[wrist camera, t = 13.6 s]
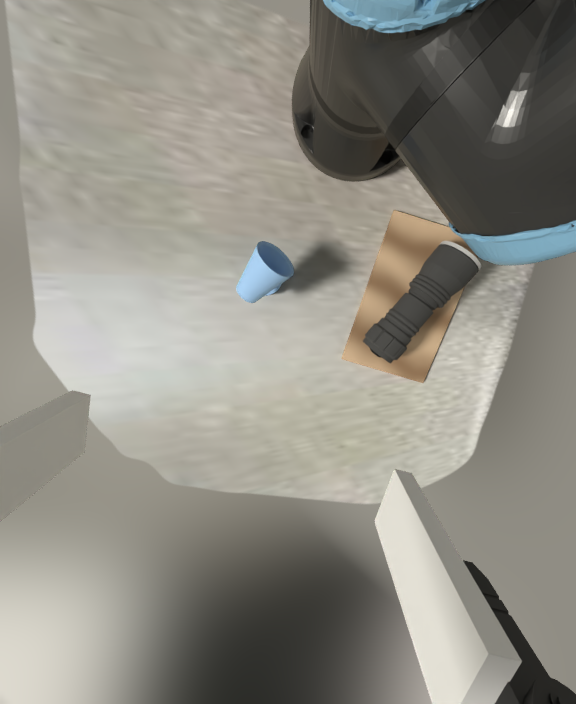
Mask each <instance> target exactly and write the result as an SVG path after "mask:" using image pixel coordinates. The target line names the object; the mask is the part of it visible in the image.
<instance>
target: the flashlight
mask: <svg viewBox="0 0 576 704" xmlns="http://www.w3.org/2000/svg"><path fill="white" fill-rule="evenodd" d="M480 269H481V264H480V262H479V260H478V259H477V258H476V257H475V256H474V255H473V254H472V253H470V252H469V251H468V250H467V249H465V248H463V247H462V246H460V245H458V244H456V243H453V242H450V241H442V242H441V243H440V244H439V246H438V247H437V248H436V249H435V250H434V251H433V253H432V254H431V255H430V256H429V257H428V259H427V260H426V261H425V262H424V264H423V266H422V268H421V270H420V272H419V274H417V275H416V276H415V278H413V280H412V281H411V282H410V283H409V286H410V289H409V290H408V293H405V294H404V295H403V296H402V297H401V298H400V299H399V301H398V302H397V303H396V304H395V305H394V306H393V308H391V309H389V312H388V313H386V316H385V317H384V318H383V317H382V318H381V320H380V321H379V322H378V323H374V324H373V326H372V327H371V328H370V329H369V330H368V332H367V333H366V334H365V338H364V340H363V342H364V343H365V344H366V345H367V346H368V347H369V348H370V350H371V352H372V353H373V354H375V355H376V356H377V357H381V358H383V359H384V360H386V361H387V362H389V363H390V364H391V363H392V362H393V360H398V359H399V358H400V356H401V355H402V354H403V353H404V352H405V351H406V350H407V345H408V344H409V343H410V341H411V338H412V337H413V336H415V335H416V333H417V332H419V329H420V328H421V327H422V326H423V324H424V323H425V322H426V321H427V320H428V319H429V318H430V317H431V315H432V314H433V310H435V309H436V308H437V307H438V308H442V307H444V304H446V303H447V301H449V300H450V298H451V296H453V295H454V294H456V293H457V292H458V291H460V290H461V289H463V288H464V286H465V285H466V284H467V283H468V282H469V281H470V280H471V279H472V277H473V276H474V275H475V274H476V273H477V272H478V271H479V270H480Z"/></svg>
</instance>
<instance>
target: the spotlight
mask: <svg viewBox="0 0 576 704" xmlns="http://www.w3.org/2000/svg"><path fill="white" fill-rule="evenodd" d="M293 274H294V268H293V265H292V263H291V262H290V260H289V259H288V257H287V256H286V255H285V254H284V253H283V252H282V251H281V250H280V249H279V248H277V247H276V246H274V245H273V244H271V243H268V242H265V241H261V242H259V243H258V244H257V246H256V248H255V250H254V252H253V254H252V256H251V258H250V260H249V262H248V264H247V266H246V268H245V270H244V272H243V274H242V276H241V278H240V280H239V282H238V284H237V287H236V289H237V292H238V294H239V295H240V297H241V298H242V299H244V300H245V301H247V302H250V303H255V302H256V301H258V300H259V299H260V298H262V297H263V296H267V295H271V294H273V293H275V292H276V291H278V289H279V288H280V286H281V284H282V283H283V282H285V281H286V280H287V279H289V278H290V277H292V276H293Z"/></svg>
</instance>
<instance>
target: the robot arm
mask: <svg viewBox="0 0 576 704" xmlns="http://www.w3.org/2000/svg"><path fill="white" fill-rule="evenodd" d="M292 116H293V125H294V130H295V134H296V137H297V140H298V142H299V145H300V147H301V149H302V151H303V152H304V154H305V155H306V157H307V158H308V159H309V161H310V162H311V163H312V164H313V165H314V166H315V167H316V168H318V169H319V170H320V171H322V172H323V173H325V174H327V175H329V176H331V177H333V178H336V179H340V180H344V181H362V180H367V179H370V178H374V177H376V176H378V175H380V174H382V173H384V172H386V171H387V170H389V169H390V168H391V167H393V166H394V165H395V164H396V163H397V162H398V161H399V160H400V159H402V160H403V162H404V163H405V164H406V166H407V167H408V168H409V170H410V171H411V172H412V173H413V175H414V176H415V177H416V179H417V180H418V181H419V183H420V184H421V185H422V187H423V188H424V189H425V191H426V192H427V193H428V194H429V196H430V197H431V198H432V200H433V201H434V202H435V204H436V205H437V206H438V208H439V209H440V210H441V212H442V213H443V214H444V216H445V217H446V218H447V219H448V221H449V227H450V228H451V230H452V231H453V232H454V233H455V234H456V235H458V236H459V237H461V238H462V239H463V240H464V241H465V242H466V243H467V245H468V246H469V247H470V248H471V249H472V250H473V252H474V253H475V254H476V255H477V256H478V257H479V258H481V259H483V260H486V261H488V262H490V263H494V264H497V265H524V264H531V263H536V262H540V261H544V260H549V259H553V258H557V257H560V256H563V255H566V254H569V253H572V252H576V0H310V46H309V47H308V49H307V51H306V53H305V55H304V56H303V58H302V60H301V63H300V65H299V68H298V70H297V74H296V77H295V81H294V86H293V93H292ZM90 396H91V395H89V394H85V393H81V392H76V391H70V392H68V393H66V394H64V395H62V396H60V397H58V398H56V399H54V400H52V401H51V402H48V403H46V404H44V405H42V406H40V407H38V408H36V409H34V410H32V411H30V412H28V413H26V414H24V415H23V416H20V417H18V418H16V419H14V420H12V421H10V422H8V423H6V424H4V425H2V426H0V521H2V520H3V519H4V518H5V517H6V516H8V515H9V514H10V513H11V512H12V511H14V510H15V509H16V508H17V507H19V506H20V505H21V504H22V503H24V502H25V501H26V500H27V499H28V498H30V497H31V496H32V495H33V494H35V493H36V492H37V491H38V490H39V489H41V488H42V487H43V486H44V485H45V484H47V483H48V482H49V481H50V480H52V479H53V478H54V477H55V476H56V475H57V474H59V473H60V472H61V471H63V470H64V469H65V468H66V467H67V466H69V465H70V464H71V463H72V462H73V461H75V460H76V459H77V458H78V457H80V456H81V455H82V454H83V453H84V452H85V443H86V434H87V424H88V415H89V405H90ZM374 522H375V525H376V528H377V531H378V534H379V537H380V541H381V544H382V547H383V550H384V553H385V556H386V560H387V563H388V566H389V569H390V572H391V575H392V578H393V582H394V585H395V588H396V591H397V594H398V597H399V601H400V603H401V607H402V610H403V613H404V616H405V619H406V623H407V626H408V629H409V632H410V635H411V638H412V642H413V645H414V648H415V651H416V654H417V657H418V660H419V664H420V667H421V670H422V673H423V676H424V679H425V683H426V686H427V689H428V692H429V695H430V698H431V701H432V704H576V694H575V693H574V692H573V691H571V690H570V689H569V688H568V687H566V686H565V685H563V684H561V683H560V682H558V681H557V680H555V679H552V678H550V677H549V675H548V673H547V672H546V670H545V669H544V667H543V666H542V664H541V662H540V661H539V659H538V658H537V656H536V654H535V653H534V651H533V650H532V648H531V647H530V645H529V643H528V642H527V640H526V639H525V637H524V636H523V634H522V633H521V631H520V629H519V628H518V626H517V625H516V623H515V621H514V620H513V618H512V617H511V616H510V615H509V614H508V610H507V609H506V607H505V606H504V604H503V602H502V601H501V600H499V596H498V595H497V593H496V591H495V590H494V588H493V587H492V585H491V583H490V582H489V580H488V579H487V578H486V577H485V576H484V575H483V573H482V572H481V571H480V570H479V569H478V568H477V567H476V566H475V565H474V564H473V563H472V562H468V561H464V560H462V558H461V556H460V555H459V553H458V551H457V550H456V548H455V546H454V544H453V543H452V542H451V539H450V538H449V536H448V534H447V533H446V531H445V529H444V528H443V526H442V524H441V522H440V521H439V519H438V517H437V515H436V514H435V512H434V510H433V509H432V507H431V505H430V504H429V502H428V500H427V498H426V497H425V495H424V493H423V492H422V490H421V488H420V487H419V485H418V483H417V481H416V480H415V478H414V476H413V475H412V473H409V472H405V471H401V470H397V469H394V472H393V474H392V477H391V479H390V482H389V485H388V487H387V490H386V492H385V495H384V498H383V500H382V503H381V506H380V508H379V511H378V513H377V516H376V519H375V521H374Z"/></svg>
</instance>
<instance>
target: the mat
mask: <svg viewBox="0 0 576 704" xmlns="http://www.w3.org/2000/svg"><path fill="white" fill-rule="evenodd" d="M442 241H450V242H453V243H456V244H458V245H460V246H462V247H463V248H465V249H467V250H468V251H469V252H470V253H472V254H473V255H474V256H475V257H476V258H477V257H478V256H477V255H476V254H475V253H474V252H473V250H472V249H471V248H470V247H469V246H468V245H467V243H466V242H465V241H464V240H463V239H462V238H461V237H459V236H458V235H456V234H455V233H454V232H453V231H452V230H451V228H450V227H447V226H444V225H440V224H437V223H434V222H431V221H428V220H424V219H421V218H418V217H415V216H412V215H409V214H405V213H402V212H399V211H396V210H394V211H393V214H392V216H391V219H390V222H389V225H388V228H387V231H386V234H385V236H384V239H383V242H382V245H381V248H380V251H379V253H378V256H377V259H376V262H375V265H374V268H373V270H372V273H371V276H370V279H369V282H368V285H367V287H366V290H365V293H364V296H363V299H362V302H361V305H360V307H359V310H358V313H357V316H356V319H355V322H354V324H353V327H352V330H351V333H350V336H349V339H348V341H347V344H346V347H345V350H344V353H343V356H342V359H343V360H347V361H350V362H354V363H357V364H360V365H364V366H367V367H370V368H374V369H377V370H381V371H384V372H387V373H391V374H394V375H397V376H401V377H404V378H408V379H411V380H414V381H418V382H421V383H423V382H424V380H425V378H426V375H427V373H428V371H429V368H430V366H431V364H432V361H433V359H434V357H435V354H436V352H437V350H438V347H439V345H440V343H441V340H442V338H443V336H444V334H445V331H446V329H447V327H448V324H449V322H450V320H451V317H452V315H453V313H454V310H455V308H456V306H457V303H458V301H459V299H460V297H461V294H462V292H463V290H464V288H463V289H461V290H460V291H458V292H457V293H456V294H454V295H453V296H451V298H450V300H449V301H447V303H446V304H444V307H442V308H438V307H437V308H436V309H435V310H433V314H432V315H431V317H430V318H429V319H428V320H427V321H426V322H425V323H424V324H423V326H422V327H421V328H420V329H419V332H417V333H416V335H415V336H413V337H412V338H411V341H410V343H409V344H408V345H407V350H406V351H405V352H404V353H403V354H402V355H401V356H400V358H399V359H398V360H393V362H392V363H391V364H390V363H389V362H387V361H386V360H384V359H383V358H381V357H377V356H376V355H375V354H373V353H372V352H371V350H370V348H369V347H368V346H367V345H366V344H365V343H364V342H363V340H364V338H365V334H366V333H367V332H368V330H369V329H370V328H371V327H372V326H373V324H374V323H378V322H379V321H380V320H381V318H382V317H383V318H384V317H385V316H386V313H388V312H389V309H391V308H393V306H394V305H395V304H396V303H397V302H398V301H399V299H400V298H401V297H402V296H403V295H404V294H405V293H408V290H409V289H410V286H409V283H410V282H411V281H412V280H413V278H415V276H416V275H417V274H419V272H420V270H421V268H422V266H423V264H424V262H425V261H426V260H427V259H428V257H429V256H430V255H431V254H432V253H433V251H434V250H435V249H436V248H437V247H438V246H439V244H440V243H441V242H442ZM464 287H465V286H464Z"/></svg>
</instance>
